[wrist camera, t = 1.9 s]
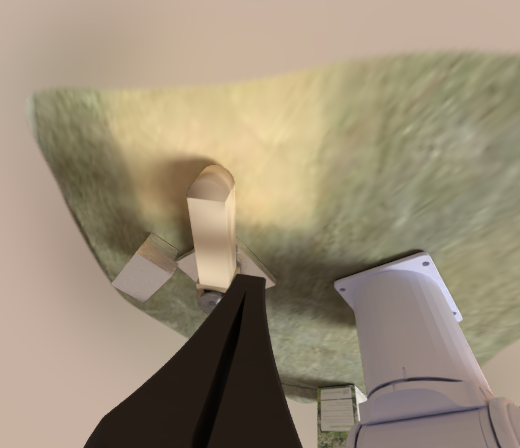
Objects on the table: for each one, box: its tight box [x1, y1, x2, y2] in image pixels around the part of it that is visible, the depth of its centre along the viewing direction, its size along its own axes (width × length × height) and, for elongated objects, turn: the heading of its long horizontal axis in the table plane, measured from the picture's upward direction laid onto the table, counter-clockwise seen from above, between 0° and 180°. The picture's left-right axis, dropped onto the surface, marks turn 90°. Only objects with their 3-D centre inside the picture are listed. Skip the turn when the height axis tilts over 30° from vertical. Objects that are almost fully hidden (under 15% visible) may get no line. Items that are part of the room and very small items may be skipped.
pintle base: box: [175, 237, 276, 314], centre depth 23 cm, size 7×7×4 cm
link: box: [187, 165, 240, 300], centre depth 20 cm, size 13×3×2 cm, turn 177°
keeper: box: [111, 233, 179, 303], centre depth 22 cm, size 3×5×5 cm, turn 140°
